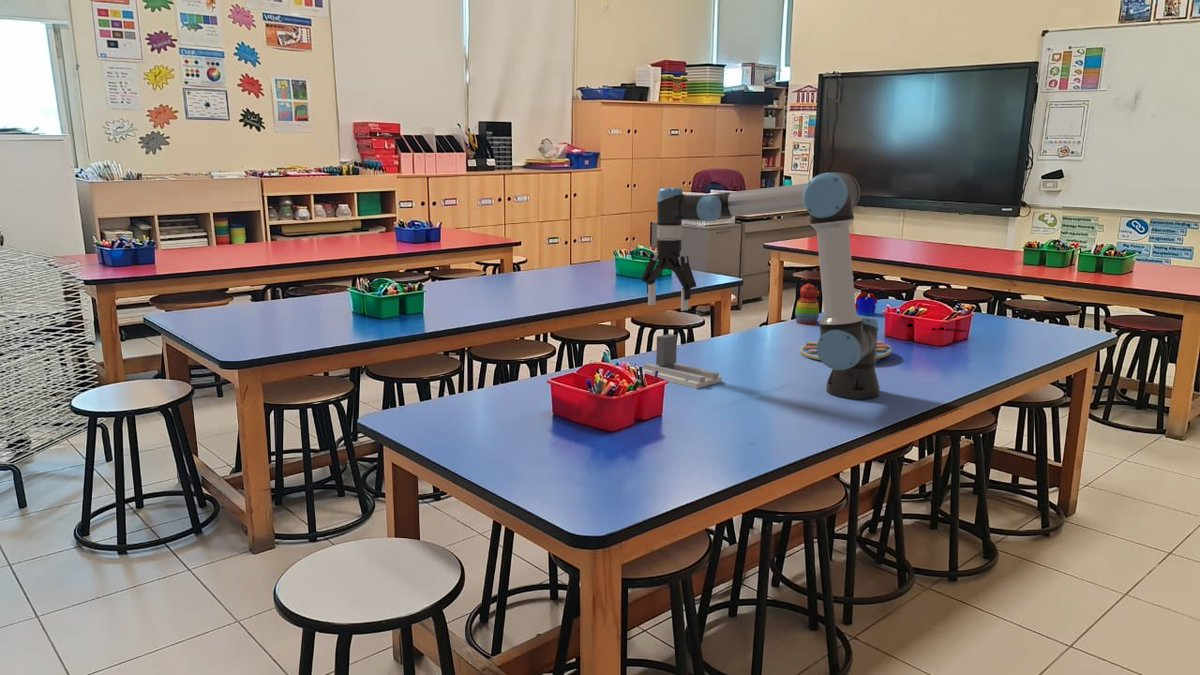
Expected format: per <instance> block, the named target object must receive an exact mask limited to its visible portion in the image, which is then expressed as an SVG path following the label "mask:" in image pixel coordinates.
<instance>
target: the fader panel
mask: <svg viewBox="0 0 1200 675" xmlns="http://www.w3.org/2000/svg"><path fill="white" fill-rule="evenodd" d="M642 369H643V371H644V372H645V373H648V374H652V375H654V374H655V371H656V370H657V371H658V376H659V377H661V378H664V379H668V380H669V382H670V383H672V384H675V385H676V384H678V385H681V386H685V387H688V388H693V389H701V388H703V387H708V386H710V385H715V384H718V383H721V382H722V381H723V376H721V375H720V372H717V371H711V370H707V369H702V368H699V367H694V366H690V365H686V364H681V363H679V362H678V363H677V362H676V363H675V364H673V369H672V368H667V367H663V366H659V365H656V363H655V364H653V363H649V362H648V363H644V364H643V368H642ZM719 375H720V376H719Z"/></svg>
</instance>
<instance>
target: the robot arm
mask: <svg viewBox="0 0 1200 675" xmlns="http://www.w3.org/2000/svg"><path fill="white" fill-rule="evenodd" d="M683 192H684V191H683V189H682V188H681V187H661V188H659V189H658V192H657V200H656V205H657V211H656V212H657V215H656V216H657V221H656V223H657V224H656V238H657V240H656V251H657V252H652V253H650V254H649V260H648V263H647V265H646V268H645V269H644V272H643V275H642V278H641V281H642V282H644V283H645V284H646V294H647V296H648V297H647V299H648V300H647V305H648V306H654V305H656V304H657V302H656V300H657V297H656V296H657V294H656V293H657V291H656V290H657V283H656V282H655V281H656V280H657V279H658V277H659V276H660V275H661V273H662V271H663V270H669V271H672V272H673V273H674V274H675V276H676V277H677V280H678V281H679V283H680V284H681V286H682V288H681V289H680V290H681V292H680V293H681V294H680V295H681V296H680V297H681V298H680V311H682V312H684V311H688V310H689V304H690V303H689V302H690V300H691V290H692V288H696V287H697V283H696V280H695V278H694V274H693V272H692V269H691V265H690V261H689V256H687V255H683V256H681V252H682V240H681V239H682V229H683V228H682V226H683V225H682V224H683V221H696V222H697V221H699V222H700V221H701V222H702V221H703V222H705V223H706V222H715V221H717V220H718V219H723V218H732V217H743V216H753V215H754V216H755V215H765V214H772V213H774V214H776V213H785V212H795V211H807V212H808V214H809V215H808V216H809V223H810V226H811V227H812V228H813V229H814V230H815V231H816V239H817V250H818V251H817V252H818V261H819V270H820V271H819V273H820V282H821V283H820V284H821V294H822V304H823V305H822V306H823V314H824V315H823V316H822V318H821V320H819V334H820V335H819V336H820V337H819V338H818V340H817V341H818V343H817V354H818V356H819V358H820V360H821V361H820V362H821V363H823V364H824V366H826V367H828V368H830V369H831V373H830V375H829V377H828V379H827V382H826V391H825V392H827V393H828V394H830V395H833V396H834V397H839V398H842V399H843V398H844V399H851V400H852V399H853V400H854V399H855V400H866V399H867V400H869V399H874V398H878V397H879V395H880V389H881V388H880V384H879V380H878V376H877V373H876V372H877V371H876V364H875V360H876V347H877V340H878V333H879V322H878V319H877V318H875V317H871V316H861V315H858V314H857V313H856V306H855V303H856V298H855V297H856V296H855V285H854V284H855V283H854V273H853V261H852V251H851V250H852V249H851V239H850V238H851V237H850V228H849V227H850V225H851V224H852V223H853V222H854V221H855V220H854V219H855V218H854V208H855V207H856V205H857V204H858V202H859V200H860V196H861V189H860V185H859V183H858V180H856V179H855V177H853V176H852V175H851V174H849V173H846V172H843V171H842V172H840V171H839V172H825V173H824V172H823V173H819V174H817V175H815V176H814V177H812V178H811V179H809V181H808V182H807V183H798V184H790V185H789V184H788V185H781V186H780V185H779V186H774V187H764V188H755V189H749V190H740V191H739V190H738V191H731V192H719V193H718V192H717V193H713V194H712V193H711V194H700V195H699V194H693V195H692V194H684V193H683Z"/></svg>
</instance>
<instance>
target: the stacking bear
mask: <svg viewBox="0 0 1200 675" xmlns="http://www.w3.org/2000/svg"><path fill="white" fill-rule="evenodd" d="M799 294H800V297H799V299H798V300H797V302H796V307H795V311H794V312H795V313H794V315H795V320H796V324H798V325H803V326H808V327H809V326H811V327H817V325H818V319H819V316H820V308H819V306H820V305H819V302H818V299H817V297H819V295H820V291H819V290H818V289H817V288H816V286H815V285H814V284H810V283H809V282H807V283H806V284H803V285H802V286H801V287H800V289H799Z"/></svg>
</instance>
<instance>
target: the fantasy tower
mask: <svg viewBox="0 0 1200 675" xmlns="http://www.w3.org/2000/svg"><path fill="white" fill-rule="evenodd" d="M867 294H868V293H867V292H866V291H865V292H861V293H859V294H858V295H857V296H856V298H855V301H856V302H855V306H856V313H857V314H858V315H859V316H862V317H874V316H875V315H876V314H875V312H876V308H877V306H876V304H878V299H877V296H875V295H874V293H872V292H870V293H869V295H868V296H867Z"/></svg>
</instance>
